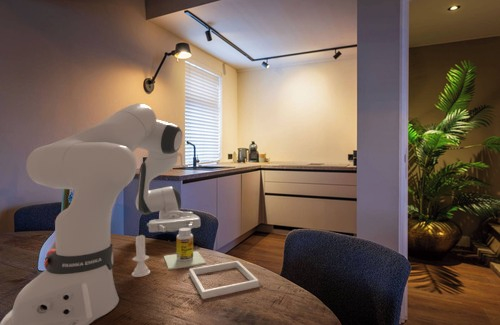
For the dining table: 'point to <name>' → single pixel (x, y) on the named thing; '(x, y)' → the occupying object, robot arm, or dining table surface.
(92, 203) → the robot arm
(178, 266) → the mat
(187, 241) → the supplement bottle
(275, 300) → the dining table surface
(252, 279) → the white square frame
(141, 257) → the candle
